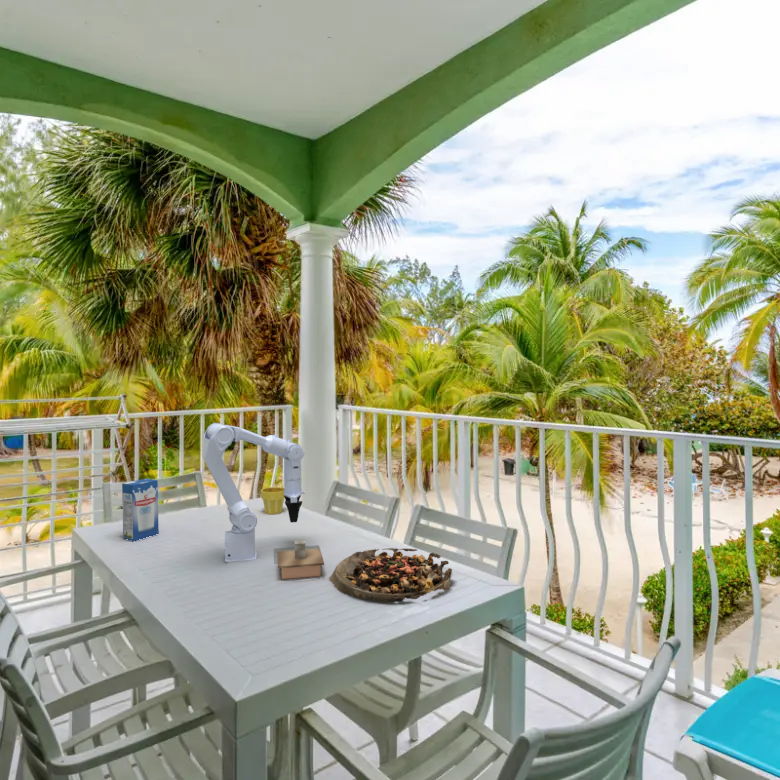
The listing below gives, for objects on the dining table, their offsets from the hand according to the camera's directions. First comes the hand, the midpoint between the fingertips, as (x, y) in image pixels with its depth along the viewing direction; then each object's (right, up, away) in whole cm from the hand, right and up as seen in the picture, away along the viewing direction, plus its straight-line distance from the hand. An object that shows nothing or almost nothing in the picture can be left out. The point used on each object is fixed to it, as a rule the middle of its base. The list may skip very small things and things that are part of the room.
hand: (293, 519), depth 187 cm
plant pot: (-16, -8, +47) cm, 50 cm away
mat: (+3, -10, -7) cm, 13 cm away
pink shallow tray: (+6, -11, -22) cm, 25 cm away
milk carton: (-57, -10, +13) cm, 59 cm away
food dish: (+33, -12, -27) cm, 44 cm away
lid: (+6, -7, -22) cm, 24 cm away
